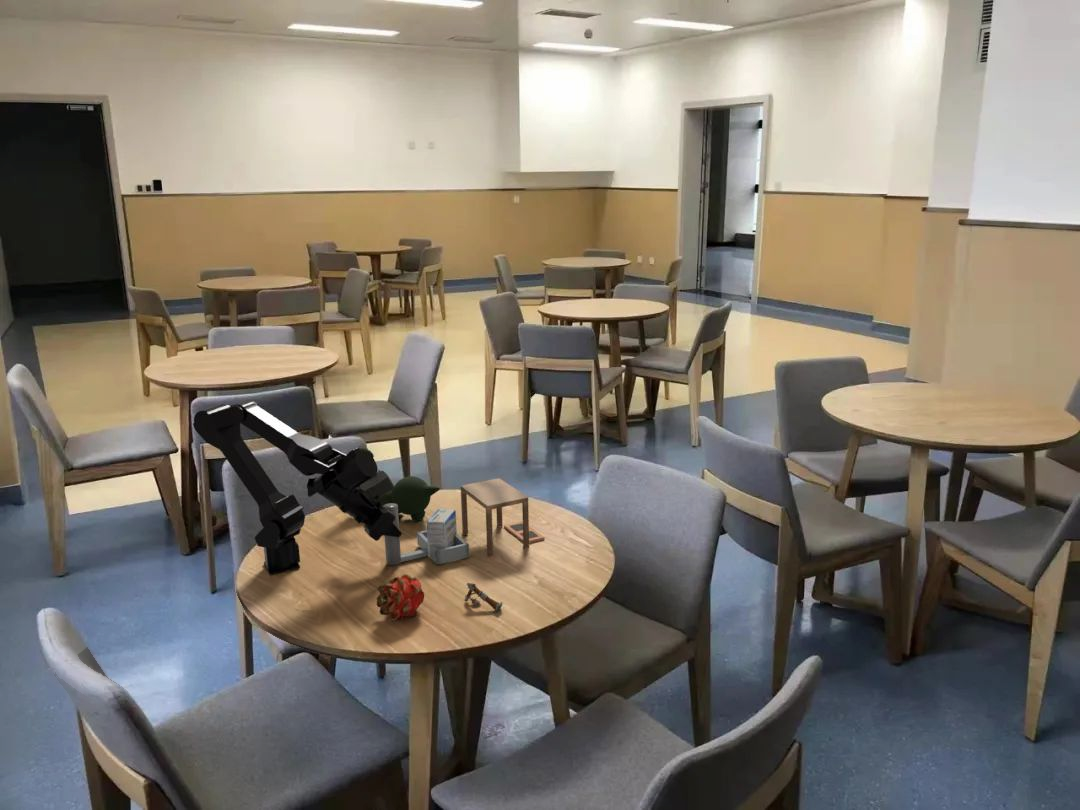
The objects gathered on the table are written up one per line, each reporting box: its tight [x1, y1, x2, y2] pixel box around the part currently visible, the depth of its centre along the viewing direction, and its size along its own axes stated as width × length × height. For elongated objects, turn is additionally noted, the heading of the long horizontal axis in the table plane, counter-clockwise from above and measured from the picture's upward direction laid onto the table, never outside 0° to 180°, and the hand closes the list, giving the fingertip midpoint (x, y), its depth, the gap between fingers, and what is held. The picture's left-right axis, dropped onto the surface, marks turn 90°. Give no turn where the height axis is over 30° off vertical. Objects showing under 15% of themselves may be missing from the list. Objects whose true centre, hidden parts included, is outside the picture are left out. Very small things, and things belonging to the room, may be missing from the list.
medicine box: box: [425, 508, 458, 559], centre depth 182 cm, size 8×4×9 cm, turn 168°
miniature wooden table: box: [460, 477, 530, 558], centre depth 187 cm, size 10×15×12 cm
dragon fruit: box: [376, 573, 425, 621], centre depth 156 cm, size 8×8×12 cm
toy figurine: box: [359, 447, 441, 523], centre depth 200 cm, size 9×19×25 cm
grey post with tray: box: [382, 503, 470, 566], centre depth 179 cm, size 17×12×13 cm
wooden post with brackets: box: [464, 582, 504, 614], centre depth 158 cm, size 2×8×4 cm, turn 61°
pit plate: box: [503, 520, 545, 544], centre depth 192 cm, size 5×11×1 cm, turn 29°
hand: (397, 532), depth 176 cm, fingers closed on grey post with tray, 3 cm apart
